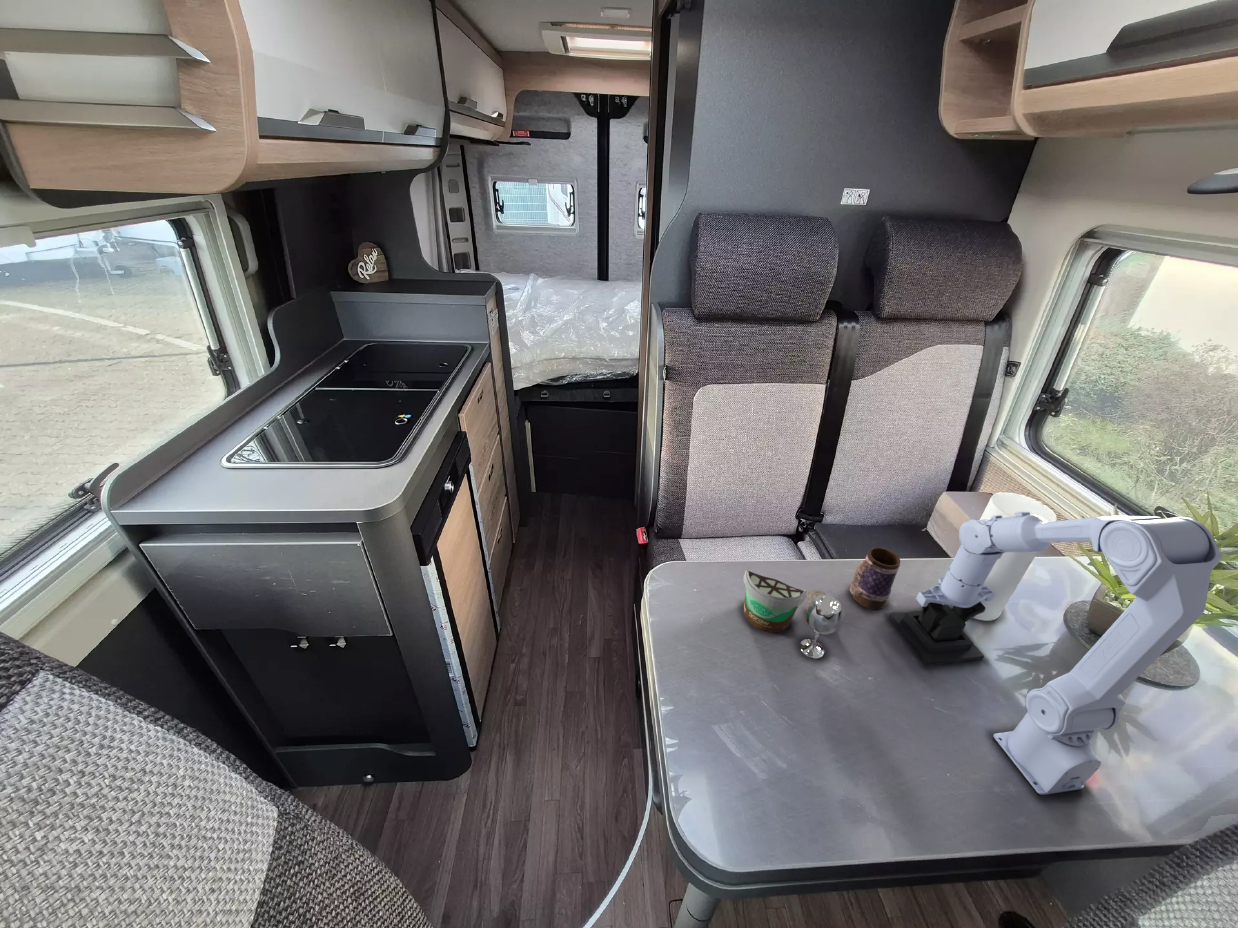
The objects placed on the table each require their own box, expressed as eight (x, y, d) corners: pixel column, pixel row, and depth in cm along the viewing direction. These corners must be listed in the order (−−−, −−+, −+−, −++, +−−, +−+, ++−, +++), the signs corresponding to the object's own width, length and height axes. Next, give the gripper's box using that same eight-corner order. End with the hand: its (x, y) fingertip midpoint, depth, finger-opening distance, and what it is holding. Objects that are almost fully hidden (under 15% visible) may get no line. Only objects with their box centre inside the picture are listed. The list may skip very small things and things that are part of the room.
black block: (957, 640, 102) (966, 624, 99) (933, 643, 101) (941, 626, 98) (939, 620, 106) (947, 603, 104) (916, 622, 105) (924, 605, 103)
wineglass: (807, 664, 97) (823, 618, 91) (790, 639, 102) (805, 594, 95) (833, 658, 98) (851, 613, 92) (816, 634, 103) (832, 589, 97)
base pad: (982, 659, 100) (988, 649, 98) (926, 665, 98) (931, 655, 97) (940, 611, 110) (945, 602, 109) (888, 616, 108) (893, 606, 107)
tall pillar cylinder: (940, 578, 119) (985, 486, 106) (993, 592, 116) (1047, 499, 103) (948, 611, 110) (998, 515, 97) (1005, 626, 107) (1065, 530, 94)
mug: (868, 582, 116) (885, 540, 110) (893, 605, 111) (912, 562, 105) (831, 593, 113) (847, 551, 107) (855, 617, 107) (873, 574, 101)
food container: (728, 621, 105) (737, 584, 100) (737, 601, 109) (746, 565, 104) (791, 646, 100) (803, 609, 95) (797, 625, 105) (809, 588, 100)
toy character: (816, 611, 111) (816, 584, 110) (840, 627, 103) (840, 599, 103) (799, 614, 110) (799, 587, 109) (822, 630, 102) (822, 601, 102)
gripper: (985, 557, 100) (957, 608, 107) (916, 562, 98) (893, 614, 105) (1014, 584, 94) (983, 635, 101) (942, 589, 92) (915, 642, 99)
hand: (939, 626), depth 102 cm, fingers closed on black block, 5 cm apart
